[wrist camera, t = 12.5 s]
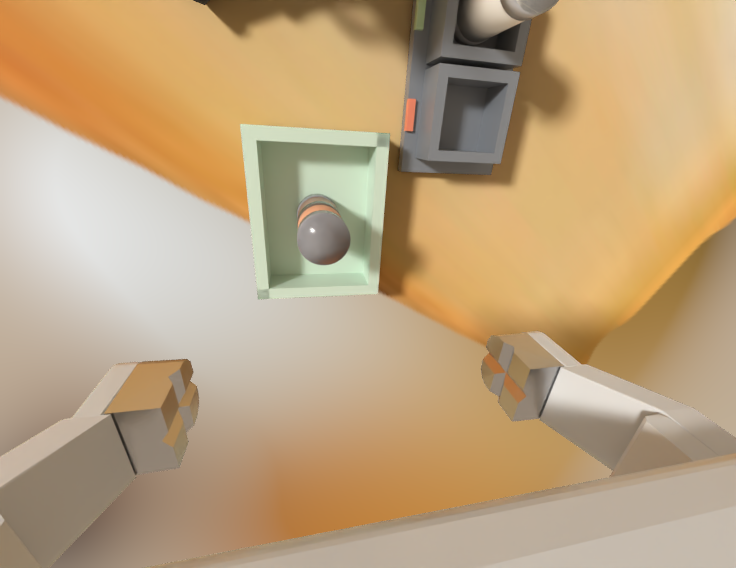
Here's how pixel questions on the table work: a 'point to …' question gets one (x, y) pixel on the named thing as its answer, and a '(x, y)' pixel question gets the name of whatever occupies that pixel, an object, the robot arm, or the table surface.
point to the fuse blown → (321, 230)
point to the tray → (305, 177)
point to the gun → (202, 1)
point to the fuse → (493, 17)
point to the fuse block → (457, 93)
